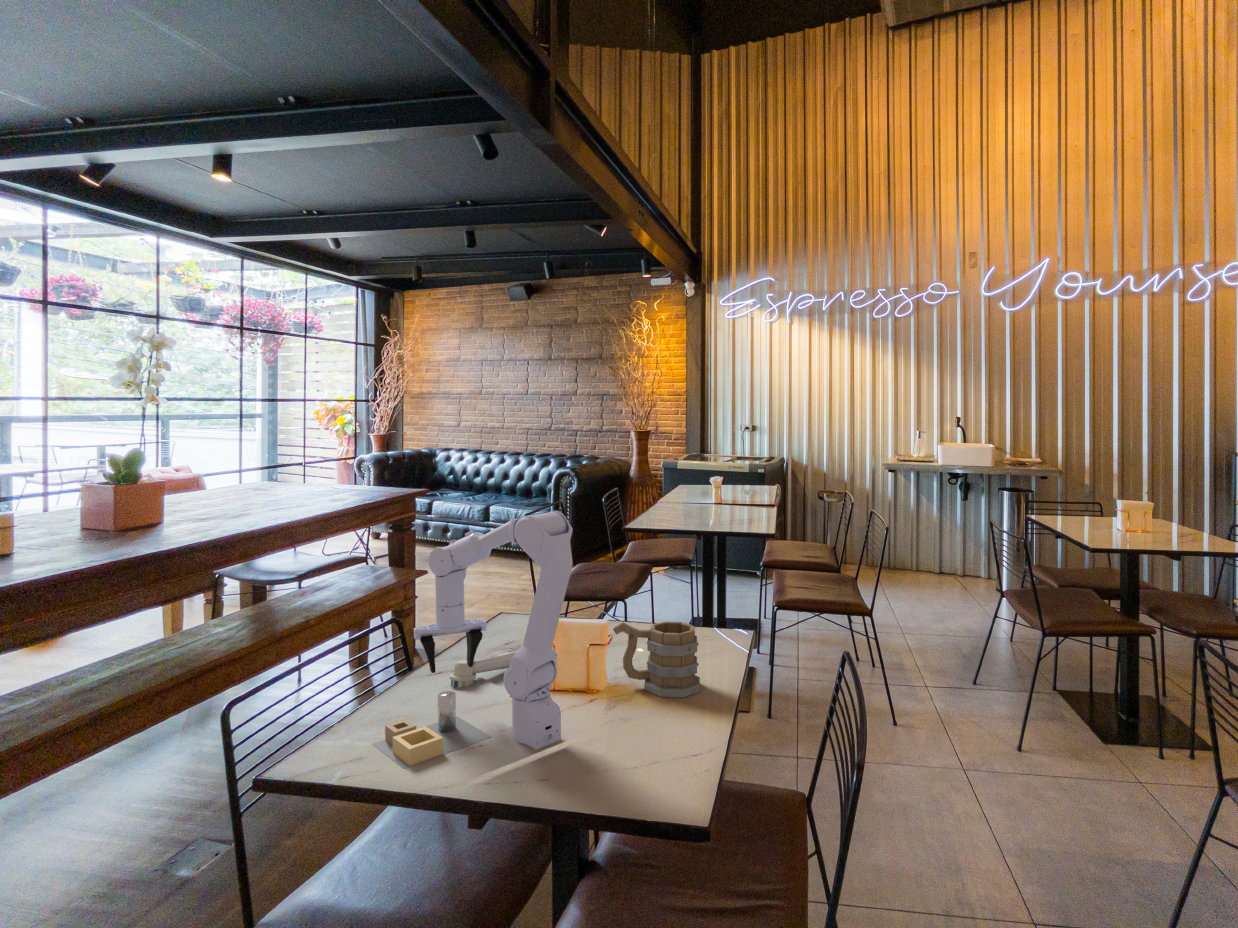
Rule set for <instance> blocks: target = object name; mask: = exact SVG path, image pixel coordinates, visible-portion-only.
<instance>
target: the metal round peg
mask: <svg viewBox="0 0 1238 928" xmlns="http://www.w3.org/2000/svg"><path fill="white" fill-rule="evenodd" d="M456 701H457V699H456V691H453V690H445V691H441V692H439V693H438V694H437V723H438V731H439V732H441V733H449V732H452V731H454V730H455V729H456V716H457V710H456V709H457V708H456V707H457V705H456V703H457V702H456Z"/></svg>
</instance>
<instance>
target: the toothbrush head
mask: <svg viewBox="0 0 1238 928" xmlns="http://www.w3.org/2000/svg"><path fill="white" fill-rule="evenodd" d="M518 650H519V649H516V650H512V651H507V652H504V653H503V652H502V653H500V654H495V655H491V656H487V657H482V658H477V659H474V661H473V667H469V666H468V665H467V659H461V660H457V661H456V662H455V664H454V666H453V667H454V668H453V669H454V670H453V672H452V673H450V674H449V680H450V687H452V688H455V689H456V688H466V687H469V686H471V685H472V684H474V682H475V680H476V678H477V674H480V673H487V672H492V671H500V670H506V669H507V668H508V667H509V666H510V664H511V661H512V658H513V656H514V655H515V654H516V653H517V651H518Z"/></svg>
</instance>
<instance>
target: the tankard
mask: <svg viewBox="0 0 1238 928" xmlns="http://www.w3.org/2000/svg"><path fill="white" fill-rule="evenodd" d="M695 627H696V626H694V624H693V625H692V624H689V623H687V622H683V621H682V622H681V621H661V622H657V623H652V624H651V625H650V629H639V628H636V627H633V626H631V625H629V624H628V623H626V622H623V621H622V622H620V623H619V624H617V625H615V626H613V628H612V630H613V632H614V633H615V635H618V634H620V633H622V632H623V633H625V634H626V635H627V636H628V637H627V638H628V639H627V646H626V649H625V651H624V653H623V654H624V655H623V658H622V668H623V670H624V672H625V673H626V675H627V677H628V678H629V679H633V680H639V681H643V680H644V686H643V687H644V691H646V692H648V693H651V694H653V695H655V696H657V697H660V698H677V699H678V698H679V699H682V698H683V699H684V698H686V697H689V696H693V695H695V694H698V693H701V679H700V676H698V675H697V674H698V667H699V663H698V656H696V653H698V646H699V642H698V636H697V635H695V634H696V633H695V632H696V628H695ZM638 638H640V639H641V638H642V639H643V638H644V639H647V641H646V645H647V649H646V650H647V651H648V652H649V655H648V658H647V661H646V665H647V669H641V670H640V669H636V668H634V665H633V658H634V656H635V653H636V650H637V645H638Z"/></svg>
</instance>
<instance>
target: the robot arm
mask: <svg viewBox="0 0 1238 928" xmlns="http://www.w3.org/2000/svg"><path fill="white" fill-rule="evenodd" d="M572 535H573V527H572V525H571V524H570V522H569V520H568V519H567V517H566V515H564V514H563V513H562V512H560V511H559V510H550V511H548V512H544V513H539V514H532V515H524V516H521V517H520V518H514V519H511V520H509V521H507V522H506V523H503V524H501V525H500V526H498V527H496V528H494V529H492V530H490V531H489V532H487V533H485V534H484V533H482V532H480V531H478V532H477V531H476V532H474V530H471V531H468V532H466V533H464V537H462V538H459V539H458V540H457V539H452V540H450V541H449V543H448V545H446V546H437V547H435V548H434V549H433V550H431V551H430V553H429V555H428V567H429V569H430V571H431V572H432V573H433V574H434V576H435V577H434V578H435V579H434V580H435V587H434V588H435V619H436V621H435V622H436V623H432V624H428V625H423V626H419V627H414V628H413V638H414V640H416V641H417V640H419V642H420V643H421V645H422V647H423V650H424V652H425V654H426V658H427V661H428V665H429V671H430V673H431V674H435V673H436V659H435V656H436V655H435V653H436V650H435V648H436V643H435V640H434V639H435V638H434V637H437V636H438V637H439V636H447V635H454V634H461V633H465V635H466V638H465V639H466V660H467V665H468V666H469V667H473V661H474V660H475V657H476V652H477V650H478V647H479V645H480V643H481V641H482V640H483V631H484V632H485V631H487V621H486V620H485V619H481V618H480V619H465V617H466V615H465V579H466V576H467V573H466V572H467V569H468V567H471V566H473V565H475V564H477V563H479V562H481V561H485V560H486V559H488V558H489V557H490V556H491V552H492V550H493V549H496V548H498V547H501V546H503V545H506V544H508V543H510V542H512V544H518V545H519V547H520V548H521V549H522V550H523V552H525V554H526V555H527V556H529V558H530V559H531V560H532V561H533V562H534V563H535V564H536V565H538V566H539V568H540V573H539V577H538V581H537V585H536V590H535V594H534V597H533V602H532V605H531V610H530V614H529V618H528V622H527V626H526V630H525V633H524V634H525V635H524V638H523V643H522V645H521V646H520V648H519V649H517V650H518V651H517V653H516V654H515V655H514V656H513V658H512V661H511V664H510V666H509V667H508V668H505V671H504V674H503V678H502V680H503V686H504V688H505V691H506V692H507V693H508V695H509V698H511V709H512V711H511V713H512V714H511V715H512V716H511V717H512V718H511V719H512V720H511V721H512V722H511V723H512V724H511V725H512V728H511V729H512V730H511V731H512V733H511V734H512V739H513V740H514V741H515V742H517V743H520V744H524V745H526V746H529V747H530V748H532V749H534V750H538V749H541V748H544V747H546V746H549V745H552V744H554V743H556V742H559V741H561V740H562V721H561V720H562V718H561V717H562V713H561V709H560V706H559V705H558V703H557V702H555V701H554V700H553V698H552V696H551V693H550V691H551V690H552V683H554V682H555V680H556V678H557V676H558V667H557V659H558V653H557V652H556V651H555V649H554V648H553V644H554V640H555V636H556V632H557V629H558V628H557V627H558V624H559V620H560V617H561V614H562V613H561V612H562V608H563V605H564V601H565V597H566V593H567V589H568V585H569V581H570V578H571V577H570V576H571V574H572V569H573V554H572V546H571V538H572Z"/></svg>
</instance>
